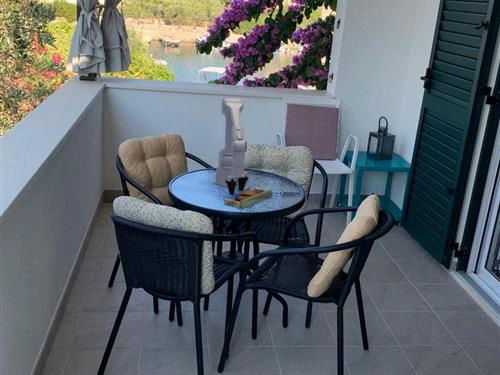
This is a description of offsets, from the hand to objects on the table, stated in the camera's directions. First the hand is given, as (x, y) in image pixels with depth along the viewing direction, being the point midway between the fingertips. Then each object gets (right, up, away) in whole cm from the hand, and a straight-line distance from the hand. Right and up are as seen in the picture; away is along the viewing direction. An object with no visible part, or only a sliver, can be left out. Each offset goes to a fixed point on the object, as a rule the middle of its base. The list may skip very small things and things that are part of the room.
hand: (236, 192), depth 270 cm
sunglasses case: (+6, -4, 0) cm, 7 cm away
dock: (+6, -3, -3) cm, 7 cm away
